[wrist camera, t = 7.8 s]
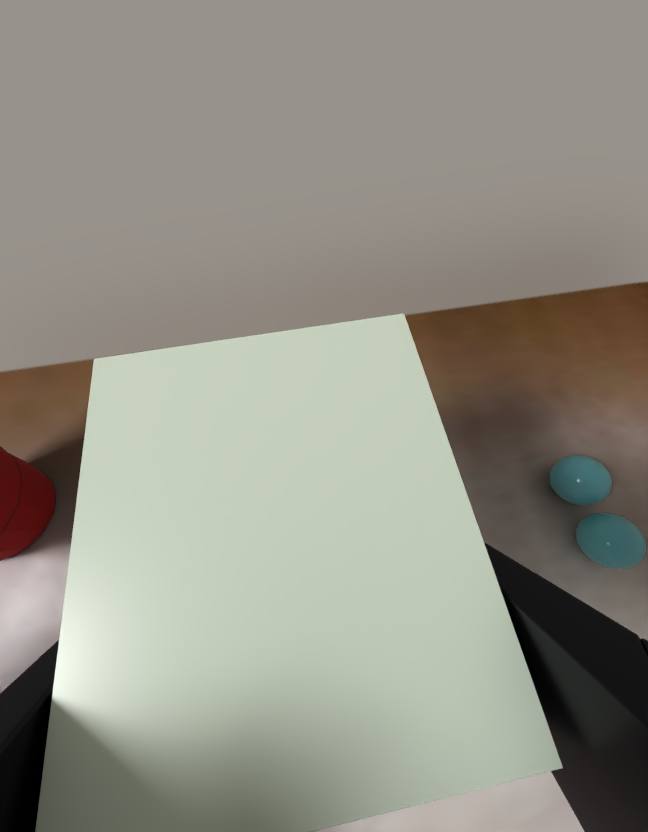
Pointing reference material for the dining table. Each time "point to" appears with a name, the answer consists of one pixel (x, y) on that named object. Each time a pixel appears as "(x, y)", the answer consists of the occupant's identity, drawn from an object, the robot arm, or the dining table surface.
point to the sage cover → (278, 597)
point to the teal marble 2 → (611, 540)
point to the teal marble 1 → (580, 480)
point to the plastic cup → (22, 504)
